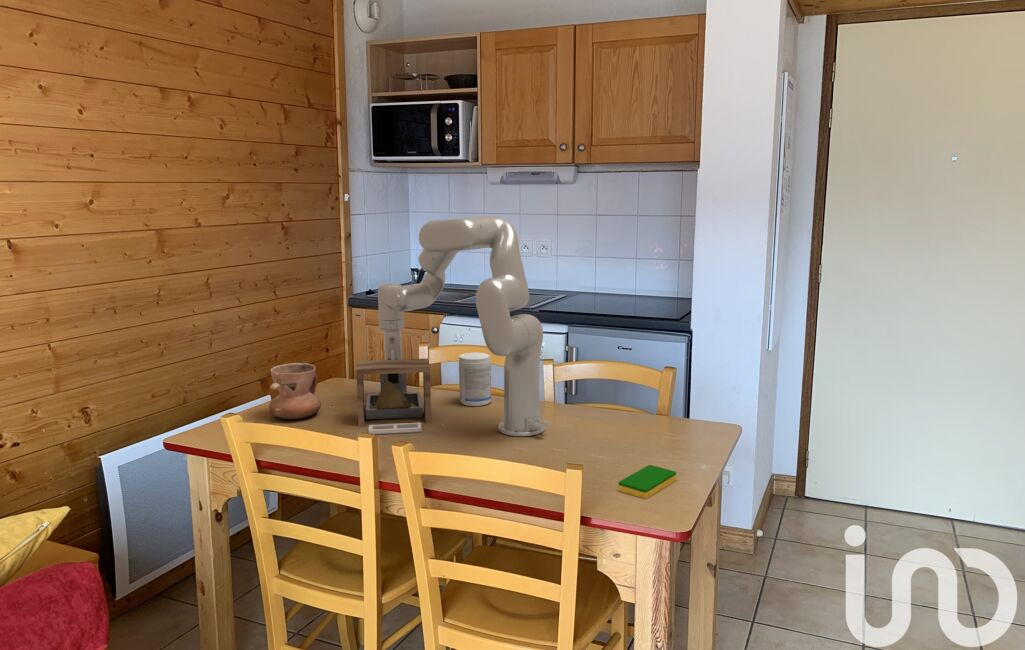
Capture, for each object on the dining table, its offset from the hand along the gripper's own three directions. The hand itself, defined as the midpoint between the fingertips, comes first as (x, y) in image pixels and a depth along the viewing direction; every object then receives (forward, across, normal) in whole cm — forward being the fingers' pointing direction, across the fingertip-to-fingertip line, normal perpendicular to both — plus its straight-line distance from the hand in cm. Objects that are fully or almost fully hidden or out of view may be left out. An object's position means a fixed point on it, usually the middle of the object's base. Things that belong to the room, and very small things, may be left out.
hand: (393, 382), depth 240 cm
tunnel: (+5, -20, 0) cm, 21 cm away
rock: (+6, -18, 0) cm, 19 cm away
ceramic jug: (+5, -12, +28) cm, 31 cm away
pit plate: (+5, -31, 0) cm, 32 cm away
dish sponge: (+6, -78, -55) cm, 96 cm away
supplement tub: (+6, -8, -24) cm, 26 cm away
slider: (+5, -8, 0) cm, 9 cm away
